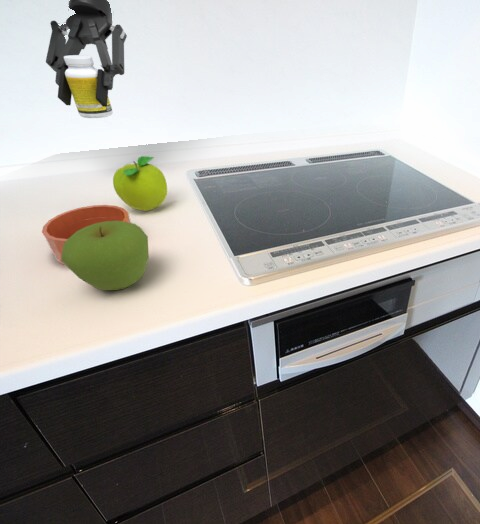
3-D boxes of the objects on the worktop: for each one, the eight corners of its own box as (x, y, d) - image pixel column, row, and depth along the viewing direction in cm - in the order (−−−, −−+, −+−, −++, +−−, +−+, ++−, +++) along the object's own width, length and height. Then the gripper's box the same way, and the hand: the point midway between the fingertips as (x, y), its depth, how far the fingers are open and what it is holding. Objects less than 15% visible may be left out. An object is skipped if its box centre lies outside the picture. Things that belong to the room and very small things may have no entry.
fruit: (180, 200, 79) (169, 155, 73) (155, 220, 72) (141, 172, 66) (141, 195, 80) (127, 150, 74) (112, 215, 73) (94, 166, 67)
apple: (140, 254, 62) (122, 201, 56) (172, 280, 57) (155, 225, 51) (68, 283, 55) (39, 226, 49) (97, 316, 50) (68, 257, 44)
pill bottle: (115, 117, 77) (97, 58, 71) (81, 120, 74) (59, 58, 68) (111, 110, 81) (94, 54, 75) (78, 113, 78) (57, 54, 72)
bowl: (38, 254, 61) (24, 228, 58) (105, 223, 70) (96, 199, 67) (88, 275, 57) (75, 248, 54) (152, 239, 66) (144, 214, 63)
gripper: (147, 19, 81) (141, 114, 77) (55, 13, 79) (44, 111, 75) (131, -11, 74) (124, 92, 70) (28, -18, 72) (15, 88, 68)
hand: (82, 101), depth 73 cm, fingers closed on pill bottle, 6 cm apart
